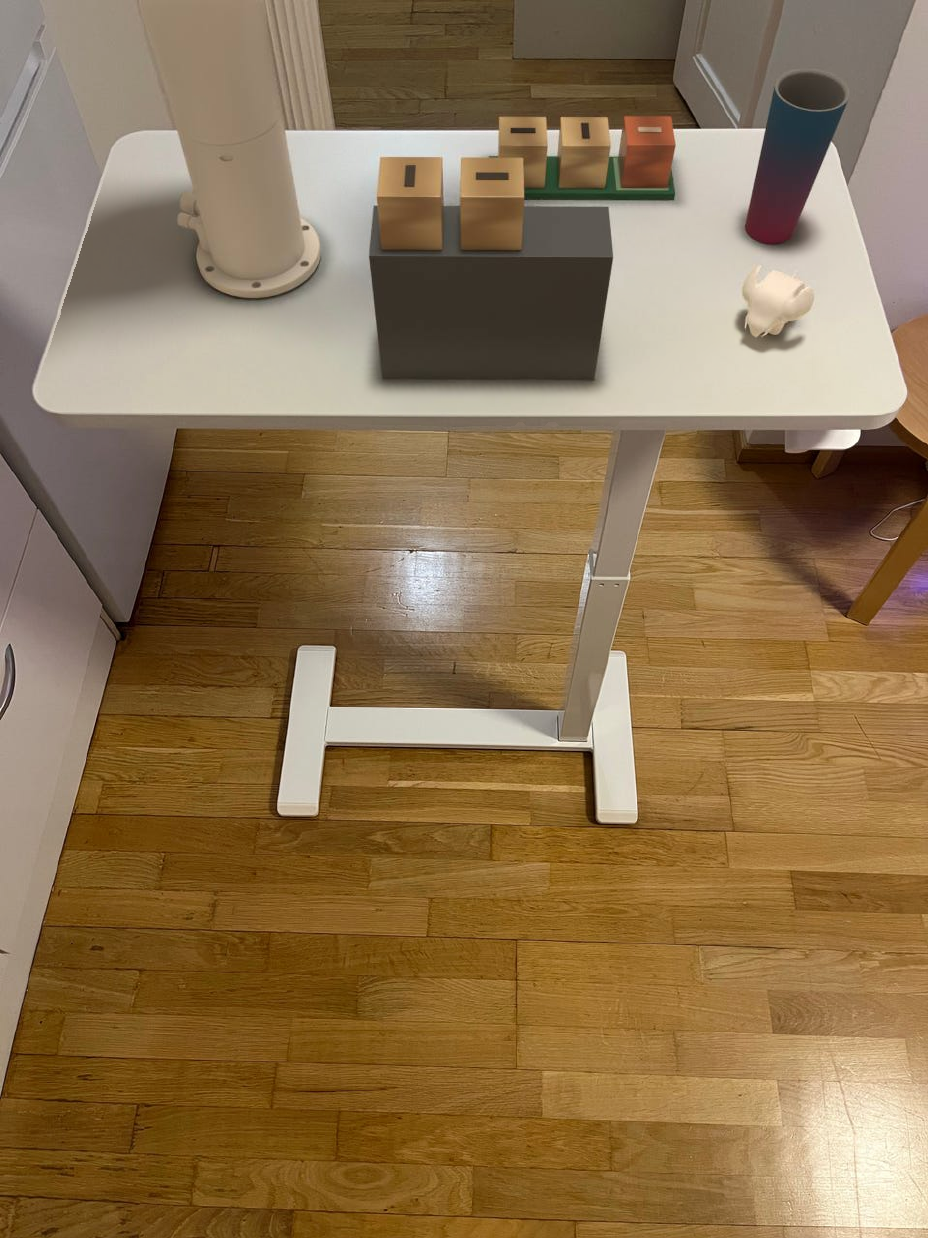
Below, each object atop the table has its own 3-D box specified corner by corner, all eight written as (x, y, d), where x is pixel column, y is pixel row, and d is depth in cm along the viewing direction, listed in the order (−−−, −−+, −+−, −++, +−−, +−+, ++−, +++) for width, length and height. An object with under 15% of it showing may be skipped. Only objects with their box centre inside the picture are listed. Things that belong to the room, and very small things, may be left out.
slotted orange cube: (620, 187, 104) (627, 143, 100) (617, 158, 107) (624, 114, 103) (667, 188, 104) (676, 143, 100) (663, 159, 107) (671, 114, 103)
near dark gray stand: (382, 378, 92) (362, 200, 75) (385, 330, 95) (368, 149, 78) (594, 380, 91) (621, 202, 75) (590, 331, 95) (616, 150, 78)
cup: (801, 253, 100) (849, 114, 87) (734, 245, 101) (773, 106, 88) (802, 211, 104) (850, 72, 91) (738, 203, 104) (776, 64, 91)
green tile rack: (488, 198, 105) (489, 148, 100) (488, 162, 108) (489, 111, 103) (674, 199, 105) (684, 149, 100) (668, 162, 108) (678, 112, 103)
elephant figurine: (716, 333, 94) (730, 284, 89) (755, 287, 98) (771, 238, 93) (779, 363, 92) (797, 315, 87) (816, 315, 96) (836, 266, 91)
